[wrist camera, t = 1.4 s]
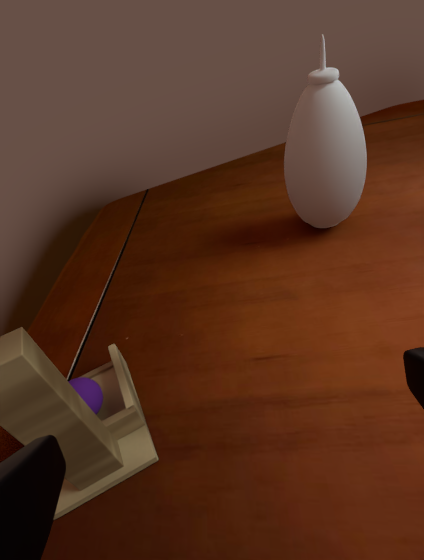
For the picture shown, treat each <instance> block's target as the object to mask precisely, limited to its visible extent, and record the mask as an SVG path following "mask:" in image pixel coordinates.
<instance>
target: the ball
mask: <svg viewBox="0 0 424 560" xmlns="http://www.w3.org/2000/svg"><path fill="white" fill-rule="evenodd" d="M69 383H70V385H71V386H72V387H73V388H74V389H75V391H76V392H77V393H78V394H79V395H80V397H81V398H82V399H83V400H84V401H85V403H86V404H87V405H88V406H89V407H90V408H91V410H92V411H93V412H94V413H95V414H97V413H98V412H99V410H100V408H101V406H102V402H103V393H102V390H101V388H100V386H99V385H98V384H97V383H96V382H95V381H94V380H92V379H89V378H85V377H80V378H75V379H72V380H70V381H69Z"/></svg>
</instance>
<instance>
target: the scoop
mask: <svg viewBox="0 0 424 560" xmlns="http://www.w3.org/2000/svg"><path fill="white" fill-rule="evenodd" d="M108 349H109V352H110V356H111V359H112V361H111V362H109V363H107V364H105V365H103V366H101V367H99V368H97V369H95V370H93V371H91V372H89V373H87V374H85V375H83V376H81V377H85V378H89V379H92V380H94V381H95V382H96V383H97V384H98V385H99V386H100V388H101V390H102V393H103V402H102V406H101V408H100V410H99V412H98V413H97V414H95V413H94V412H93V411H92V410H91V408H90V407H89V406H88V405H87V404H86V403H85V401H84V400H83V399H82V398H81V397H80V395H79V394H78V393H77V392H76V391H75V389H74V388H73V387H72V386H71V385H70V383H69V382H68V381H67V380H66V379H65V378H64V376H63V375H62V374H61V373H60V372H59V370H58V369H57V368H56V367H55V366H54V364H53V363H52V362H51V361H50V360H49V358H48V357H47V356H46V355H45V354H44V353H43V351H42V350H41V349H40V348H39V347H38V345H37V344H36V343H35V342H34V341H33V339H32V338H31V337H30V336H29V335H28V333H27V332H26V331H25V330H24V329H23V328H22V327H21V328H18V329H16V330H14V331H12V332H10V333H7V334H5V335H3V336H1V337H0V426H1V427H2V428H4V429H5V430H6V431H7V432H9V433H10V434H11V435H12V436H13V437H15V438H16V439H17V440H18V441H20V442H21V443H22V444H23V445H25V446H26V445H27V444H29V443H30V442H32V441H33V440H34V439H36V438H39V437H43V436H47V435H53V436H55V437H56V439H57V441H58V443H59V446H60V448H61V451H62V453H63V456H64V458H65V461H66V473H65V477H64V481H63V485H62V489H61V493H60V496H59V500H58V504H57V508H56V512H55V516H54V519H53V520H55V519H57V518H59V517H61V516H62V515H64V514H66V513H68V512H69V511H71V510H73V509H75V508H76V507H78V506H80V505H82V504H83V503H85V502H87V501H89V500H90V499H92V498H94V497H95V496H97V495H99V494H101V493H102V492H104V491H106V490H108V489H109V488H111V487H113V486H115V485H116V484H118V483H120V482H122V481H123V480H125V479H127V478H129V477H130V476H132V475H134V474H136V473H137V472H139V471H141V470H143V469H144V468H146V467H148V466H150V465H151V464H153V463H155V462H157V461H158V457H157V454H156V451H155V448H154V445H153V442H152V439H151V436H150V433H149V430H148V427H147V424H146V421H145V418H144V415H143V412H142V409H141V406H140V403H139V400H138V397H137V394H136V391H135V388H134V385H133V382H132V379H131V376H130V373H129V370H128V367H127V364H126V361H125V360H124V358H123V356H122V355H121V353H120V352H119V350H118V348H117V347H116V345H115V344H112V345H110V346H108ZM79 378H80V377H79Z"/></svg>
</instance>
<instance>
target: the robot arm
mask: <svg viewBox="0 0 424 560" xmlns="http://www.w3.org/2000/svg"><path fill="white" fill-rule="evenodd" d="M403 359H404V366H405V373H406V380H407V384H408V387H409V389H410V391H411V392H412V394H413V395H414V396H415V398H416V399H417V401H418V402H419V403H420V405H421V406H422V407H423V409H424V348H423V347H420V348H415V349H411V350H407V351H405V352H404V355H403ZM65 473H66V461H65V458H64V456H63V453H62V451H61V448H60V446H59V443H58V441H57V439H56V437H55V436H53V435H47V436H43V437H39V438H36V439H34V440H33V441H32V442H30V443H29V444H27V445H26V446H24V447H23V448H21V449H20V450H18V451H17V452H16V453H14V454H13V455H11V456H10V457H8V458H7V459H5V460H4V461H2V462H1V463H0V560H41V557H42V554H43V551H44V548H45V546H46V543H47V540H48V537H49V534H50V530H51V527H52V523H53V519H54V516H55V512H56V508H57V504H58V500H59V496H60V493H61V489H62V485H63V481H64V477H65Z"/></svg>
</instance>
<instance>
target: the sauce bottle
mask: <svg viewBox="0 0 424 560" xmlns="http://www.w3.org/2000/svg"><path fill="white" fill-rule="evenodd" d="M325 61H326V60H325V42H324V36H323V34H322V36H321V41H320V69H318V70H315V71H313V72H311V73H309V75H308V77H307V83H308V86H307V87H306V88H305V90H304V91H303V93H302V95H301V97H300V99H299V101H298V103H297V106H296V108H295V111H294V113H293V117H292V120H291V123H290V127H289V131H288V136H287V141H286V147H285V157H284V173H285V182H286V187H287V192H288V195H289V199H290V201H291V203H292V205H293V207H294V209H295V211H296V212H297V214H298V215H299V216H300V218H301V219H302V220H303V221H304V222H306V223H308V224H311V225H312V226H313V227H316V228H329V227H333V226H335V225H337V224H339V223H340V222H341V221H343V220H345V219H346V218H348V217H349V215H350V214H351V213H352V211H353V210H354V208H355V207H356V205H357V203H358V201H359V199H360V196H361V194H362V190H363V187H364V182H365V177H366V167H367V155H366V144H365V138H364V133H363V129H362V125H361V121H360V118H359V115H358V112H357V109H356V107H355V104H354V102H353V100H352V98H351V96H350V95H349V93H348V91H347V90H346V88H345V87H344V85H343V84H342V83H341V82H340V81H339V80H338V78H339V71H338V70H337V69H336V68H331V67H329V68H326V62H325Z"/></svg>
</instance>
